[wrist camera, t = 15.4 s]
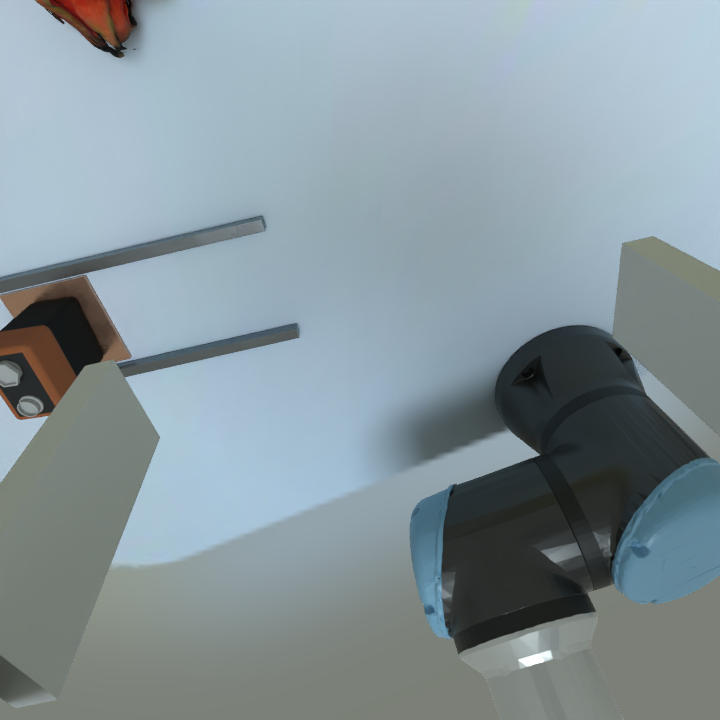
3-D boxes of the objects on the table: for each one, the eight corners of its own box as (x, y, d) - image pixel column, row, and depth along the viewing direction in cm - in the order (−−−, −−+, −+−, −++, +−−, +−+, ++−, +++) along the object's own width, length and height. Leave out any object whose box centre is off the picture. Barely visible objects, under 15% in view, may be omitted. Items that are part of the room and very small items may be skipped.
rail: (299, 331, 48) (299, 337, 47) (36, 391, 49) (30, 398, 48) (262, 215, 41) (260, 219, 40) (-41, 287, 42) (-50, 292, 41)
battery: (76, 294, 43) (20, 352, 35) (107, 356, 47) (63, 421, 39) (28, 302, 43) (-39, 361, 35) (63, 363, 47) (10, 430, 39)
